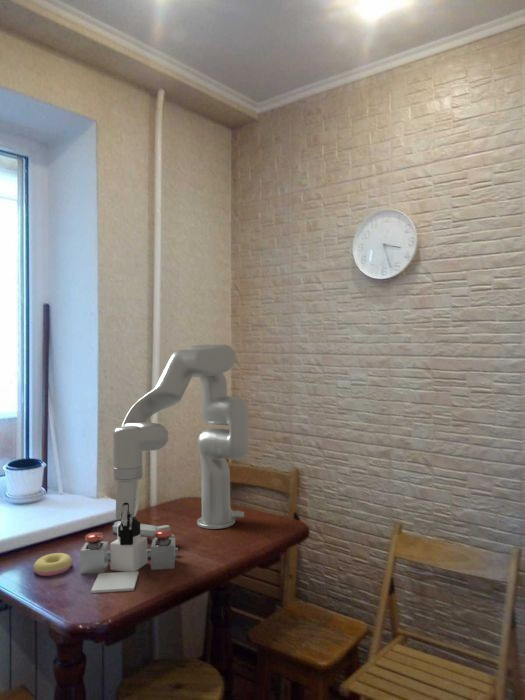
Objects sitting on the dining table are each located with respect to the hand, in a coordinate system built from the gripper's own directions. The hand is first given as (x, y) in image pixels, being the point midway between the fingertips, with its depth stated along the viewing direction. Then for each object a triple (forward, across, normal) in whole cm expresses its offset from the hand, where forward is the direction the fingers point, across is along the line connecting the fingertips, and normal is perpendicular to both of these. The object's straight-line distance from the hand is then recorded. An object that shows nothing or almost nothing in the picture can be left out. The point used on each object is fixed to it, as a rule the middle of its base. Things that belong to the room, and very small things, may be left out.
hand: (128, 538), depth 143 cm
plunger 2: (+7, 0, +9) cm, 11 cm away
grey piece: (+8, -21, +1) cm, 22 cm away
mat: (+7, +10, -2) cm, 13 cm away
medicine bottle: (+8, 0, 0) cm, 8 cm away
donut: (+8, -1, -20) cm, 21 cm away
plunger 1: (+7, 0, -9) cm, 11 cm away
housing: (+7, -2, 0) cm, 8 cm away
